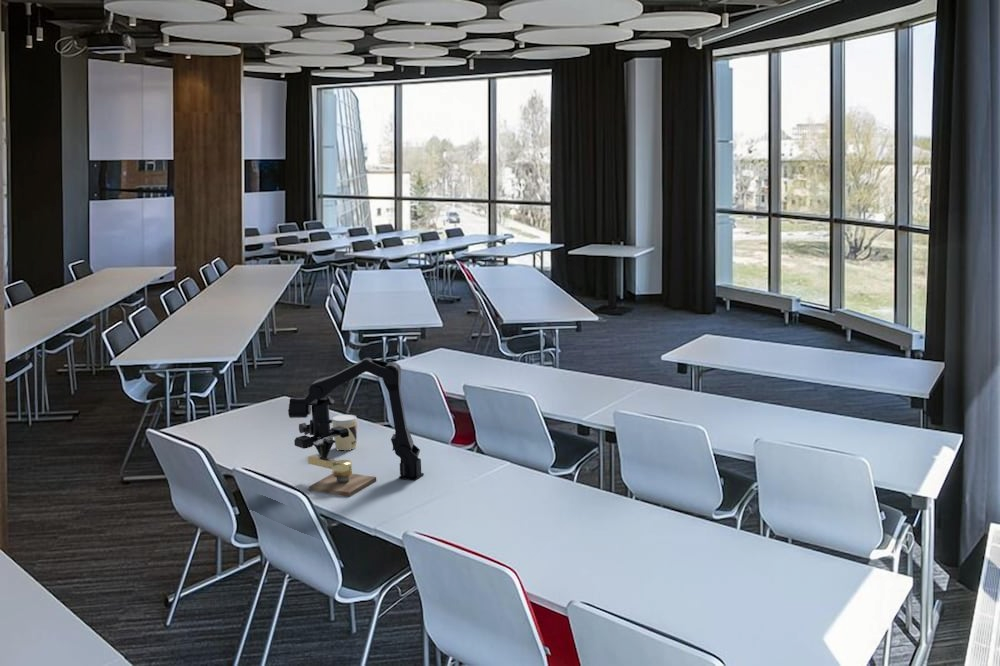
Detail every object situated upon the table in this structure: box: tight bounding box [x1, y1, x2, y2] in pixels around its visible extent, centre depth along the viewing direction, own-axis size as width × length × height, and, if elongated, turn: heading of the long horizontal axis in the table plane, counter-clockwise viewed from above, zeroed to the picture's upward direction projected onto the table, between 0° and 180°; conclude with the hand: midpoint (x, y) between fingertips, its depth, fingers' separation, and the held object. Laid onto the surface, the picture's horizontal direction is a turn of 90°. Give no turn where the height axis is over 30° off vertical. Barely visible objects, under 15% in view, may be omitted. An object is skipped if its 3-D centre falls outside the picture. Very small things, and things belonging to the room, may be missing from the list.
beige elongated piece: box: [307, 454, 353, 478], centre depth 309 cm, size 18×6×4 cm, turn 55°
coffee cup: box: [331, 414, 358, 451], centre depth 347 cm, size 9×9×12 cm
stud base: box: [308, 473, 377, 498], centre depth 306 cm, size 16×16×4 cm
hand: (323, 461), depth 314 cm, fingers closed
